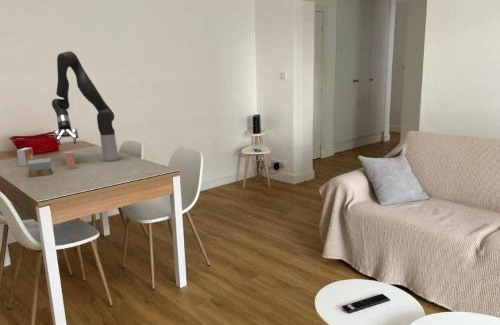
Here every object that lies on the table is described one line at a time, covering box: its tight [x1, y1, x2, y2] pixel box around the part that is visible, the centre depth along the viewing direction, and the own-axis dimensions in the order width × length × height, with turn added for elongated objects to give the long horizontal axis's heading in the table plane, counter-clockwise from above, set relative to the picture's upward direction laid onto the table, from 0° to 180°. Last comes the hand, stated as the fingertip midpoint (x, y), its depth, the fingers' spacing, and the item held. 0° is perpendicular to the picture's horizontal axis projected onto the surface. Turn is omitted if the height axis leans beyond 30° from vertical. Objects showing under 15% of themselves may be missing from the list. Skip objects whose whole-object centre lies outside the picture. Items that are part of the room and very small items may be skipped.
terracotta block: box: [64, 150, 77, 170], centre depth 261 cm, size 5×5×10 cm
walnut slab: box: [28, 167, 53, 178], centre depth 250 cm, size 12×12×4 cm
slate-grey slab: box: [27, 157, 52, 172], centre depth 249 cm, size 12×12×4 cm
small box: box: [16, 147, 35, 167], centre depth 274 cm, size 8×6×10 cm
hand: (67, 143), depth 265 cm, fingers open, 8 cm apart
